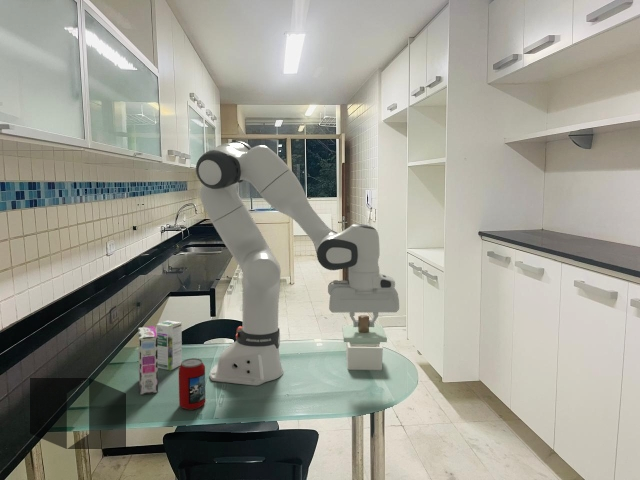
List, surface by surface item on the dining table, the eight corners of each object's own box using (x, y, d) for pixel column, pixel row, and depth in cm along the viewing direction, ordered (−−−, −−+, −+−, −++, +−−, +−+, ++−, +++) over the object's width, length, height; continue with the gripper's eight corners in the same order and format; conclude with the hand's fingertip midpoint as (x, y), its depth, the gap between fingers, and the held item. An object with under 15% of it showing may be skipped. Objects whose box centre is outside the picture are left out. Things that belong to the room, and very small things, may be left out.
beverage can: (198, 412, 118) (197, 368, 116) (174, 409, 119) (173, 365, 118) (209, 400, 124) (209, 358, 123) (187, 398, 126) (186, 356, 124)
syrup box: (156, 368, 146) (155, 324, 144) (168, 361, 151) (168, 319, 150) (170, 371, 144) (169, 326, 142) (182, 364, 149) (182, 321, 148)
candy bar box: (159, 392, 129) (157, 336, 127) (140, 395, 127) (138, 338, 125) (156, 377, 139) (155, 325, 137) (138, 380, 137) (137, 327, 135)
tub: (347, 371, 145) (348, 347, 145) (346, 358, 156) (346, 336, 155) (382, 372, 145) (382, 348, 144) (378, 359, 156) (378, 336, 155)
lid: (343, 346, 128) (343, 322, 127) (342, 332, 139) (342, 311, 139) (386, 346, 127) (387, 322, 127) (381, 332, 139) (381, 310, 138)
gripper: (327, 282, 128) (328, 330, 130) (400, 282, 128) (400, 330, 130) (327, 278, 135) (328, 323, 136) (397, 277, 134) (396, 323, 136)
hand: (363, 326), depth 133 cm, fingers closed on lid, 3 cm apart
